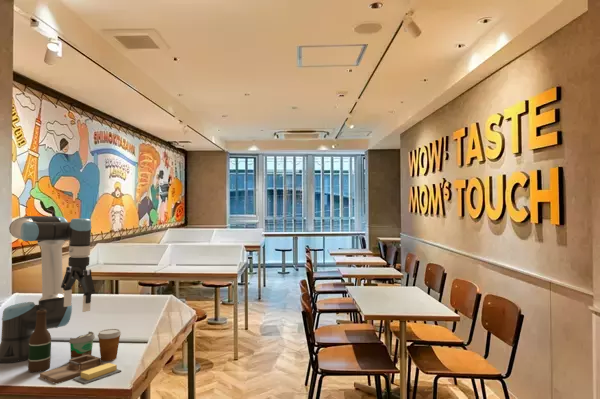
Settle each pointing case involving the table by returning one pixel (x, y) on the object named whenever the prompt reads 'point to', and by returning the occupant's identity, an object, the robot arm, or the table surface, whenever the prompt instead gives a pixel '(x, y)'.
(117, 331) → the disposable coffee cup
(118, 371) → the charcoal mat
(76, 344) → the food container
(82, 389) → the table surface
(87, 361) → the walnut jig
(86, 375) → the mustard bar
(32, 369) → the beer bottle
